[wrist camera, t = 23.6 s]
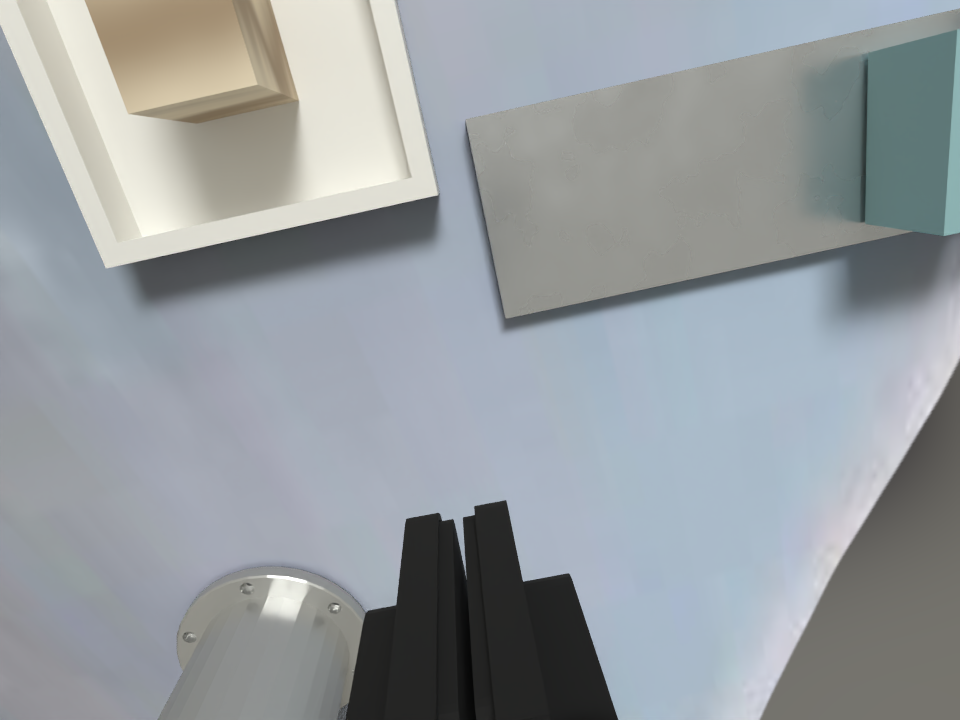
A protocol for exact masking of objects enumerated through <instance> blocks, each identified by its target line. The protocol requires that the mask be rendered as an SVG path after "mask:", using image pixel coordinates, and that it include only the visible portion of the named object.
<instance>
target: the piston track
mask: <svg viewBox="0 0 960 720" xmlns="http://www.w3.org/2000/svg"><path fill="white" fill-rule="evenodd" d="M957 29H960V9H956V10H952V11H947V12H943V13H938V14H934V15H929V16H925V17H920V18H916V19H911V20H907V21H903V22H898V23H894V24H889V25H885V26H880V27H876V28H871V29H867V30H862V31H858V32H853V33H849V34H845V35H840V36H836V37H831V38H827V39H822V40H818V41H813V42H809V43H804V44H800V45H796V46H791V47H787V48H782V49H778V50H773V51H769V52H764V53H760V54H755V55H751V56H746V57H742V58H738V59H733V60H729V61H724V62H720V63H715V64H711V65H706V66H702V67H697V68H693V69H689V70H684V71H680V72H675V73H671V74H666V75H662V76H657V77H653V78H648V79H644V80H639V81H635V82H631V83H626V84H622V85H617V86H613V87H608V88H604V89H599V90H595V91H590V92H586V93H582V94H577V95H573V96H568V97H564V98H559V99H555V100H550V101H546V102H541V103H537V104H532V105H528V106H524V107H519V108H515V109H510V110H506V111H501V112H497V113H492V114H488V115H483V116H479V117H475V118H470V119H466V120H465V122H466V127H467V132H468V137H469V142H470V147H471V152H472V157H473V162H474V167H475V172H476V177H477V182H478V187H479V192H480V197H481V202H482V207H483V212H484V217H485V222H486V226H487V231H488V236H489V241H490V246H491V251H492V256H493V261H494V266H495V271H496V276H497V281H498V286H499V291H500V296H501V301H502V306H503V311H504V315H505V318H506V319H507V318H512V317H517V316H521V315H526V314H531V313H535V312H540V311H545V310H549V309H554V308H559V307H564V306H568V305H573V304H578V303H582V302H587V301H592V300H596V299H601V298H606V297H610V296H615V295H620V294H624V293H629V292H634V291H638V290H643V289H648V288H652V287H657V286H662V285H666V284H671V283H676V282H680V281H685V280H690V279H694V278H699V277H704V276H708V275H713V274H718V273H722V272H727V271H732V270H736V269H741V268H746V267H751V266H755V265H760V264H765V263H769V262H774V261H779V260H783V259H788V258H793V257H797V256H802V255H807V254H811V253H816V252H821V251H825V250H830V249H835V248H839V247H844V246H849V245H853V244H858V243H863V242H867V241H872V240H877V239H881V238H886V237H891V236H895V235H900V234H905V233H909V232H914V231H907V230H901V229H895V228H888V227H882V226H875V225H869V224H865V196H866V144H867V91H868V53H869V52H873V51H877V50H880V49H884V48H888V47H892V46H896V45H900V44H903V43H907V42H911V41H915V40H919V39H923V38H927V37H930V36H934V35H938V34H942V33H946V32H950V31H954V30H957Z"/></svg>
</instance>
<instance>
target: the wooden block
mask: <svg viewBox="0 0 960 720" xmlns="http://www.w3.org/2000/svg"><path fill="white" fill-rule="evenodd" d="M85 3H86V5H87V8H88V11H89V13H90V16H91V18H92V21H93V24H94V26H95V29H96V31H97V34H98V37H99V39H100V42H101V44H102V47H103V50H104V52H105V55H106V57H107V60H108V63H109V65H110V68H111V71H112V73H113V76H114V78H115V81H116V84H117V86H118V89H119V91H120V94H121V97H122V99H123V102H124V104H125V107H126V110H127V112H128V114H132V115H139V116H146V117H153V118H160V119H167V120H174V121H181V122H188V123H195V124H197V123H202V122H206V121H211V120H215V119H220V118H224V117H229V116H233V115H237V114H242V113H246V112H251V111H255V110H260V109H264V108H268V107H273V106H277V105H282V104H286V103H291V102H295V101H299V99H298V95H297V92H296V88H295V85H294V81H293V78H292V74H291V71H290V67H289V64H288V60H287V57H286V53H285V50H284V46H283V43H282V39H281V36H280V32H279V29H278V26H277V22H276V19H275V15H274V12H273V8H272V5H271V1H270V0H85Z"/></svg>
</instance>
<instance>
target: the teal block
mask: <svg viewBox="0 0 960 720" xmlns="http://www.w3.org/2000/svg"><path fill="white" fill-rule="evenodd" d="M865 224H869V225H875V226H882V227H888V228H895V229H901V230H907V231H914V232H920V233H927V234H933V235H940V236H947V235H951V234H956V233H960V29H957V30H954V31H950V32H946V33H942V34H938V35H934V36H930V37H927V38H923V39H919V40H915V41H911V42H907V43H903V44H900V45H896V46H892V47H888V48H884V49H880V50H877V51H873V52H869V53H868V91H867V144H866V196H865Z"/></svg>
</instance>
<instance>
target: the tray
mask: <svg viewBox="0 0 960 720" xmlns="http://www.w3.org/2000/svg"><path fill="white" fill-rule="evenodd" d="M270 1H271V5H272V8H273V12H274V15H275V19H276V22H277V26H278V29H279V32H280V36H281V39H282V43H283V46H284V50H285V53H286V57H287V60H288V64H289V67H290V71H291V74H292V78H293V81H294V85H295V88H296V92H297V95H298V99H299V101H295V102H291V103H286V104H282V105H277V106H273V107H268V108H264V109H260V110H255V111H251V112H246V113H242V114H237V115H233V116H229V117H224V118H220V119H215V120H211V121H206V122H202V123H197V124H195V123H188V122H181V121H174V120H167V119H160V118H153V117H146V116H139V115H132V114H128V112H127V110H126V107H125V104H124V102H123V99H122V97H121V94H120V91H119V89H118V86H117V84H116V81H115V78H114V76H113V73H112V71H111V68H110V65H109V63H108V60H107V57H106V55H105V52H104V50H103V47H102V44H101V42H100V39H99V37H98V34H97V31H96V29H95V26H94V24H93V21H92V18H91V16H90V13H89V11H88V8H87V5H86V3H85V0H0V25H1V27H2V29H3V32H4V34H5V36H6V39H7V41H8V43H9V45H10V48H11V50H12V52H13V55H14V57H15V59H16V62H17V64H18V66H19V69H20V71H21V73H22V75H23V78H24V80H25V82H26V85H27V87H28V89H29V92H30V94H31V96H32V98H33V101H34V103H35V105H36V108H37V110H38V112H39V115H40V117H41V119H42V122H43V124H44V126H45V128H46V131H47V133H48V135H49V138H50V140H51V142H52V145H53V147H54V149H55V152H56V154H57V156H58V158H59V161H60V163H61V165H62V168H63V170H64V172H65V175H66V177H67V179H68V182H69V184H70V186H71V188H72V191H73V193H74V195H75V198H76V200H77V202H78V205H79V207H80V209H81V212H82V214H83V216H84V218H85V221H86V223H87V225H88V228H89V230H90V232H91V235H92V237H93V239H94V242H95V244H96V246H97V248H98V251H99V253H100V255H101V258H102V260H103V262H104V265H105V267H106V268H110V267H115V266H119V265H124V264H128V263H133V262H138V261H142V260H147V259H151V258H156V257H160V256H165V255H169V254H174V253H178V252H183V251H187V250H192V249H196V248H201V247H205V246H210V245H214V244H219V243H224V242H228V241H233V240H237V239H242V238H246V237H251V236H255V235H260V234H264V233H269V232H273V231H278V230H282V229H287V228H291V227H296V226H301V225H305V224H310V223H314V222H319V221H323V220H328V219H332V218H337V217H341V216H346V215H350V214H355V213H359V212H364V211H368V210H373V209H378V208H382V207H387V206H391V205H396V204H400V203H405V202H409V201H414V200H418V199H423V198H427V197H432V196H436V195H438V194H439V192H440V191H439V187H438V182H437V178H436V173H435V169H434V164H433V160H432V155H431V151H430V147H429V142H428V138H427V133H426V129H425V124H424V120H423V115H422V111H421V106H420V102H419V97H418V93H417V89H416V84H415V80H414V75H413V71H412V66H411V62H410V57H409V53H408V48H407V44H406V39H405V35H404V31H403V26H402V22H401V17H400V13H399V8H398V4H397V0H270Z"/></svg>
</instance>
